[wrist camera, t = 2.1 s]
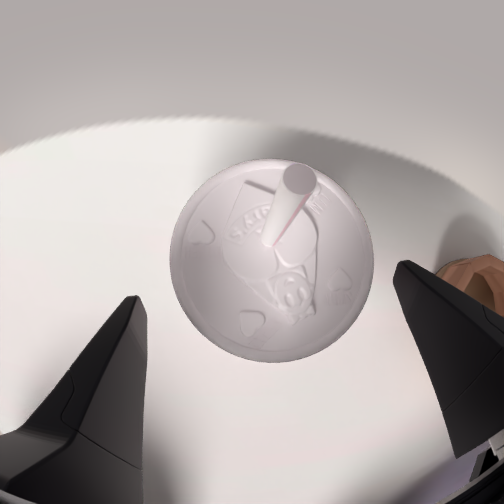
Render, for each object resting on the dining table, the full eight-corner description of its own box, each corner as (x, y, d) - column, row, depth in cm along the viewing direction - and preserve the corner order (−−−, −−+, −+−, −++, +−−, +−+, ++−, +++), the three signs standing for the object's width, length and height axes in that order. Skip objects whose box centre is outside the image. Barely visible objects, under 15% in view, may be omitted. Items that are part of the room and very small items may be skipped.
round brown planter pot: (506, 312, 19) (531, 311, 15) (454, 399, 17) (479, 408, 14) (459, 235, 19) (485, 226, 16) (396, 326, 18) (423, 329, 15)
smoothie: (281, 213, 19) (365, 43, 5) (322, 304, 18) (504, 304, 4) (187, 251, 18) (73, 129, 4) (228, 347, 17) (207, 480, 3)
